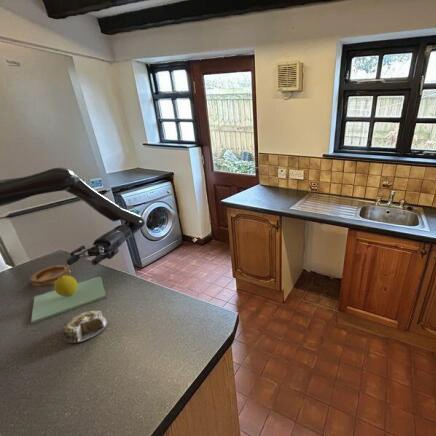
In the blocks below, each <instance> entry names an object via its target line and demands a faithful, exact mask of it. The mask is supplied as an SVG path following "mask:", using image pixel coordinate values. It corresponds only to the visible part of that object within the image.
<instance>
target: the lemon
mask: <svg viewBox="0 0 436 436" xmlns="http://www.w3.org/2000/svg"><path fill="white" fill-rule="evenodd" d="M77 283H78V281H77V279H75V277H73V276H71V275H69V276H61V277H60V278H58V279H57V280H56V282H55V283H54V291H56V292H57V293H58V294H59V295H61V296H71V295H72V294H74V293H75V292H76V291H77V288H78V284H77Z"/></svg>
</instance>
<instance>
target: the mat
mask: <svg viewBox="0 0 436 436" xmlns="http://www.w3.org/2000/svg"><path fill="white" fill-rule="evenodd" d="M77 284H78V288H77V291H76V292H75V293H74V294H72V295H71V296H61V295H59V294H58V293H57V292H56V291H55V290H52V291H48V292H45V293H41V294H38V295H35V296H34V297H33V304H32V312H31V319H30V322H31V324H35V323H38V322H41V321H44V320H46V319H49V318H52V317H55V316H57V315H60V314H62V313H63V314H64V313H66V312H68V311H69V312H70V311H71V310H74V309H77V308H79V307H82V306H85V305H88V304H91V303H93V302H97V301H100V300H102V299H105V298H107V296H106V291H105V287H104V283H103V278H102V276H100V275H99V276H97V277H93V278H90V279H86V280H84V281H81V282H80V281H79V282H77Z"/></svg>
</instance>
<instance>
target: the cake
mask: <svg viewBox="0 0 436 436" xmlns="http://www.w3.org/2000/svg"><path fill="white" fill-rule="evenodd" d="M107 325H108V319H107V318H106V317H104V316H103V313H102V311H100V310H90V311H85V312H82V313H81V314H77V315H75V316H73V317H72V318H71V319H70V320H68V321H67V322H66V323H64V325H63V326H62V331H63V341H64V342H65V343H67V344H77V343H81V342H84V341H87V340H90V339H91V338H93V337H95V336H97V335H98V334H99V333H102V331H103V330H104V329H105V328H106V327H107Z"/></svg>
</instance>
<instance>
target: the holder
mask: <svg viewBox="0 0 436 436" xmlns="http://www.w3.org/2000/svg"><path fill="white" fill-rule="evenodd" d="M69 266H70V265H68V264H67V265H65V264H56V265H53V266H49V267H45V268H42V269H40V270H39V271H37V272H35V273H34V274H31V276H30V283H31V285H32V286H33V287H47V286H51V285H55V282H56V280H57V279H58V278H60V277H61V276H71V274H72V271H71V269H70V267H69Z"/></svg>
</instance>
